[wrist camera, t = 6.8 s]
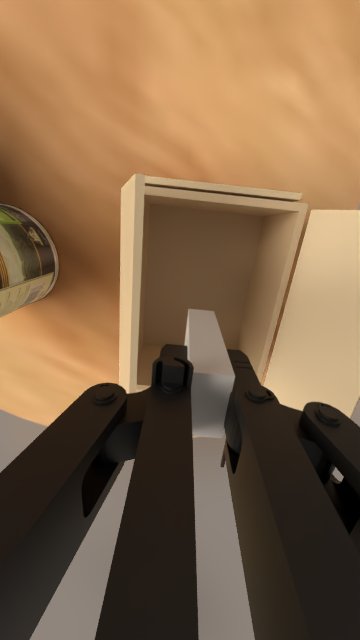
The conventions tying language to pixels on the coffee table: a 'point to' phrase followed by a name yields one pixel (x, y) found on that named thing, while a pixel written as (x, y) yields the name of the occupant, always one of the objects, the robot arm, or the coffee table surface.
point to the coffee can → (24, 260)
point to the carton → (214, 264)
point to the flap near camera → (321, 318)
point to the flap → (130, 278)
